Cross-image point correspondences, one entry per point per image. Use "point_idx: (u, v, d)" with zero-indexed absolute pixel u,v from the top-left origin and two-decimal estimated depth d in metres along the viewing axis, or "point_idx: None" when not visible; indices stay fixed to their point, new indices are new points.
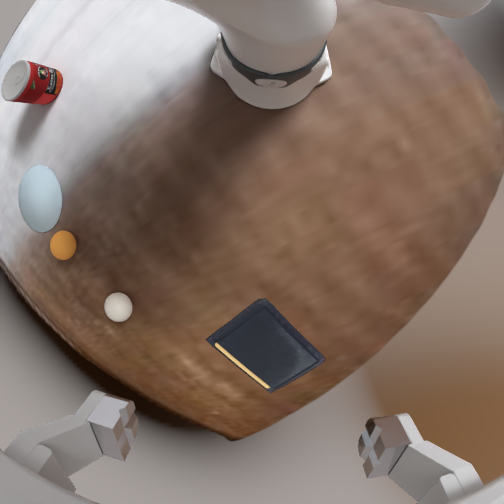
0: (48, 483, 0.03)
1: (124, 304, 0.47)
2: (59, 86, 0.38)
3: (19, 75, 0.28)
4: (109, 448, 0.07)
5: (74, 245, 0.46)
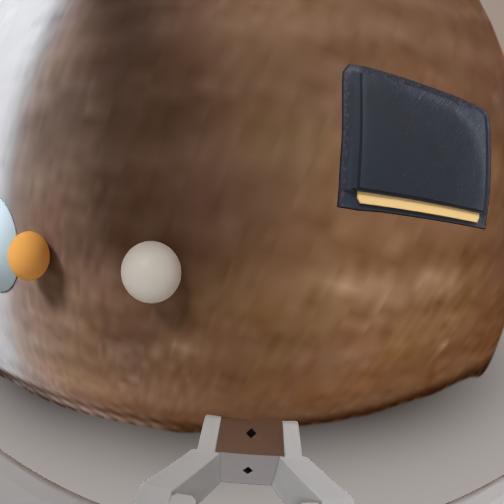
0: (48, 483, 0.03)
1: (151, 247, 0.23)
2: None
3: None
4: (232, 474, 0.07)
5: (39, 239, 0.25)
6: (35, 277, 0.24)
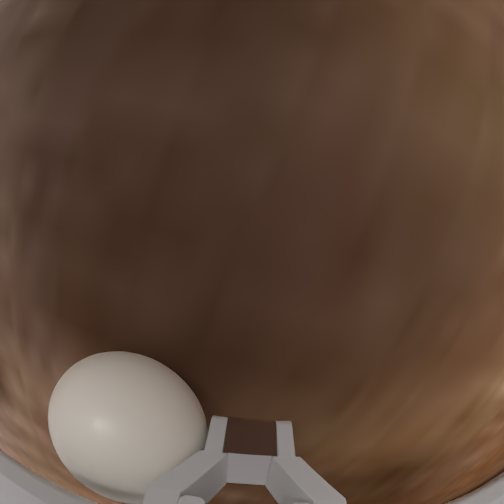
0: (48, 483, 0.03)
1: (104, 406, 0.06)
2: None
3: None
4: (239, 475, 0.07)
5: None
6: None
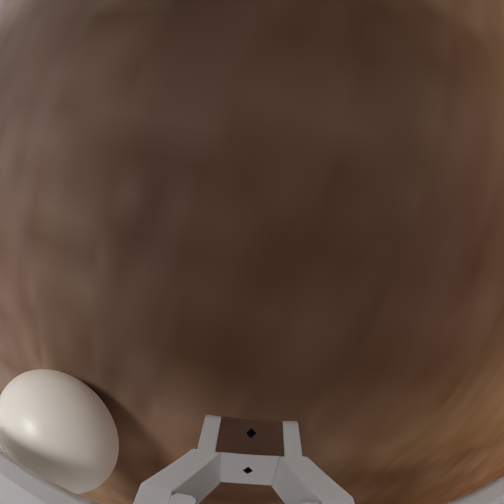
0: (48, 483, 0.03)
1: (35, 375, 0.08)
2: None
3: None
4: (232, 474, 0.07)
5: None
6: None
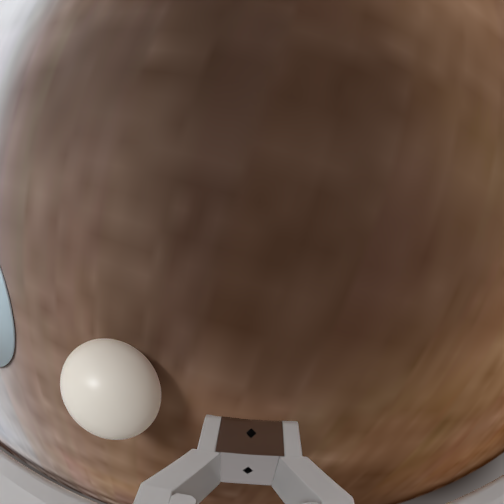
0: (48, 483, 0.03)
1: (100, 340, 0.12)
2: None
3: None
4: (232, 474, 0.07)
5: None
6: None
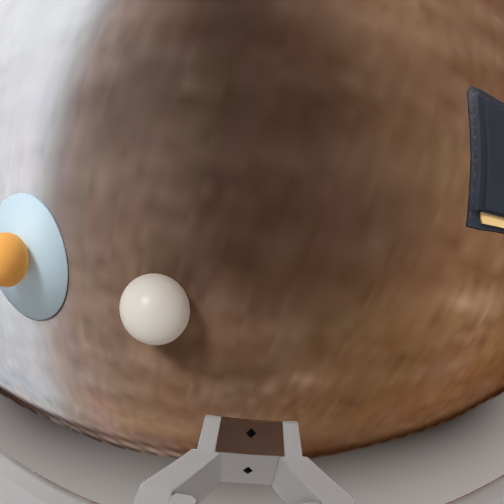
0: (48, 483, 0.03)
1: (151, 273, 0.21)
2: None
3: None
4: (232, 474, 0.07)
5: None
6: None
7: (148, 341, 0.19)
